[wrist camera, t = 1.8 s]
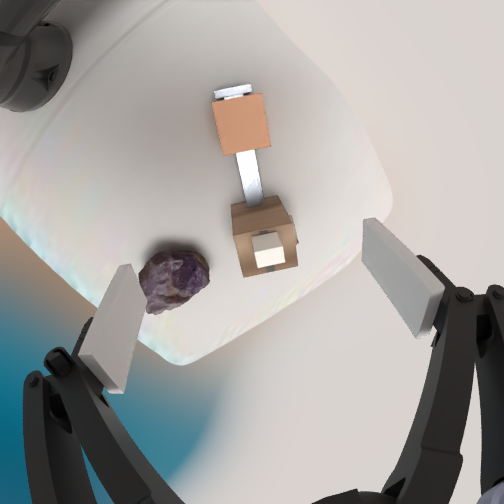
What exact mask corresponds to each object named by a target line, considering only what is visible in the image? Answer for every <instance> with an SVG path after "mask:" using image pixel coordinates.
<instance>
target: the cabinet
mask: <svg viewBox="0 0 504 504" xmlns="http://www.w3.org/2000/svg"><path fill="white" fill-rule="evenodd" d="M263 199H264V204H263V205H258V206H253V207H249V208H247V203H246V202H243V203H239V204H234V205H231V215H232V228H233V237H234V241H235V245H236V250H237V254H238V258H239V262H240V266H241V270H242V273H243V277H249V276H254V275H258V274H263V273H268V272H273V271H277V270H282V269H287V268H291V267H296V266H298V260H297V252H296V245H297V243H299V242H298V239H297V235H296V230H295V225H294V222H293V219H292V217H291V215H290V216H289V215H288V213H287V212H286V210H285V208H284V206H283V204H282V202H281V201H280V199H279V197H278V196H273V197H268V198H263ZM273 232H277V233H278V235H279V238H280V240H281V243H282V246H283V251H284V258H285V262H284V263H279V264H275V265H270V266H265V267H261V268H258V267H257V262H256V258H255V253H254V248H253V243H252V238H251V237H254V236H258V235H263V234H268V233H273Z"/></svg>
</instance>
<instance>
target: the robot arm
mask: <svg viewBox="0 0 504 504" xmlns="http://www.w3.org/2000/svg"><path fill="white" fill-rule="evenodd" d="M60 1H61V0H0V107H3V108H6V109H9V110H11V111H14V112H26V111H31V110H35V109H37V108H39V107H41V106H43V105H44V104H45V103H47V102H48V101H49V100H50V99H51V98H52V97H53V96H54V95H55V93H56V92H57V91H58V89H59V88H60V86H61V85H62V83H63V81H64V79H65V77H66V75H67V72H68V70H69V67H70V63H71V58H72V42H71V38H70V35H69V33H68V32H67V30H66V29H65V28H64V27H63V26H61V25H59V24H56V23H53V22H47V21H43V22H41V21H42V20H43V18H44V17H45V16H46V15H47V14H48V13H49V12H50V11H51V10H52V9H53V8H54V7H55V6H56V5H57V4H58V3H59V2H60ZM362 262H363V263H364V265H365V266H366V267H367V269H368V270H369V272H370V273H371V274H372V276H373V277H374V278H375V280H376V281H377V282H378V284H379V285H380V287H381V288H382V289H383V291H384V292H385V293H386V295H387V297H388V298H389V299H390V301H391V302H392V304H393V305H394V307H395V308H396V309H397V311H398V312H399V314H400V315H401V317H402V318H403V320H404V321H405V323H406V324H407V326H408V327H409V329H410V330H411V332H412V334H413V335H414V337H415V338H416V339H419V338H421V337H424V336H426V335H429V334H430V331H431V329H432V326H433V325H434V327H435V328H436V330H437V332H436V335H435V337H434V340H433V342H432V345H431V347H433V349H432V354H431V359H430V364H429V368H428V372H427V376H426V380H425V384H424V388H423V392H422V395H421V399H420V402H419V405H418V409H417V412H416V415H415V418H414V421H413V424H412V427H411V430H410V432H409V435H408V438H407V441H406V443H405V446H404V448H403V451H402V453H401V456H400V458H399V460H398V463H397V465H396V467H395V469H394V471H393V472H392V473H391V475H390V476H389V478H388V480H387V481H386V483H385V485H384V487H383V489H382V491H381V493H378V492H367V491H364V492H363V491H362V492H358V490H357V489H353V490H350V491H347V492H343V493H340V494H336V495H332V496H328V497H325V498H323V499H321V500H319V501H316V502H314V503H312V504H449V501H450V498H451V496H452V494H453V491H454V488H455V485H456V482H457V480H458V476H459V474H460V470H461V467H462V463H463V456H462V455H461V454H460V446H461V443H462V439H463V434H464V429H465V426H466V421H467V415H468V410H469V405H470V398H471V391H472V384H473V375H474V366H475V364H476V370H477V378H478V386H479V395H480V408H481V426H482V427H481V429H482V452H481V479H480V482H481V495H482V496H481V497H480V499H479V500H478V502H477V504H504V288H503V287H501V286H500V285H490V286H489V287H488V289H487V292H486V294H481V295H474V293H473V292H472V291H470V290H469V289H467V288H465V287H456V286H455V285H453V283H452V282H451V281H450V280H449V279H448V278H447V277H446V276H445V275H444V274H443V273H442V272H441V271H440V270H439V269H438V268H437V267H435V265H434V264H433V263H432V262H431V261H430V260H429V259H428V258H426V257H424V256H422V255H417V256H415V255H414V254H413V253H412V252H411V251H410V250H409V249H408V248H407V247H406V246H405V245H404V244H403V243H402V242H401V241H400V240H399V239H398V238H397V237H396V236H395V235H393V234H392V233H391V232H390V231H389V230H388V229H387V228H386V227H385V226H384V225H383V224H382V223H381V222H379V221H378V220H377V219H376V218H369V219H363V243H362ZM147 302H148V301H147V299H146V297H145V295H144V293H143V290H142V288H141V286H140V284H139V282H138V279H137V277H136V275H135V273H134V270H133V268H132V266H131V264H126V265H122V266H119V267H118V269H117V271H116V273H115V275H114V277H113V279H112V281H111V283H110V285H109V287H108V289H107V291H106V293H105V295H104V297H103V299H102V301H101V303H100V305H99V308H98V310H97V312H96V314H95V316H94V317H91V318H90V319H89V320H88V321H87V323H86V324H85V325H84V327H83V329H82V331H81V334H80V336H79V340H77V343H76V345H75V347H74V350H73V352H72V354H71V356H70V355H69V354H68V353H67V351H66V350H65V349H64V348H63V347H56V348H54V349H52V350H51V351H50V352H49V353H48V354H47V355H46V357H45V359H44V366H45V367H46V369H47V370H48V371H49V372H50V373H51V374H52V375H49V376H46V377H45V376H44V375H43V374H42V373H41V372H40V371H33V372H31V373H30V374H29V375H28V376H27V377H26V379H25V381H24V389H23V435H24V449H25V460H26V468H27V476H28V482H29V488H30V494H31V498H32V503H33V504H97V502H96V499H95V496H94V493H93V490H92V487H91V484H90V480H89V477H88V473H87V469H86V466H85V462H84V458H83V453H82V449H81V446H82V448H83V450H84V452H85V454H86V456H87V458H88V460H89V462H90V463H91V465H92V467H93V469H94V471H95V472H96V474H97V476H98V478H99V480H100V481H101V483H102V485H103V486H104V488H105V490H106V491H107V493H108V494H109V496H110V498H111V499H112V501H113V502H114V504H185V503H184V502H183V501H182V500H181V499H180V498H179V497H178V496H177V495H176V494H175V492H174V491H173V490H172V489H171V488H170V487H169V486H168V485H167V483H166V482H165V481H164V480H163V479H162V477H161V476H160V475H159V474H158V473H157V471H156V470H155V469H154V468H153V466H152V465H151V464H150V463H149V461H148V460H147V459H146V457H145V456H144V455H143V453H142V452H141V451H140V449H139V448H138V447H137V445H136V444H135V442H134V441H133V439H132V438H131V436H130V435H129V434H128V432H127V431H126V429H125V428H124V426H123V424H122V423H121V421H120V420H119V418H118V417H117V415H116V413H115V412H114V410H113V409H112V407H111V405H110V403H109V402H108V400H107V398H106V397H105V396H104V395H103V393H102V391H103V387H105V388H106V389H107V390H108V392H109V393H124V390H125V386H126V381H127V377H128V372H129V368H130V364H131V360H132V356H133V352H134V348H135V344H136V341H137V337H138V333H139V329H140V326H141V322H142V319H143V315H144V312H145V309H146V305H147ZM80 444H81V445H80Z"/></svg>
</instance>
